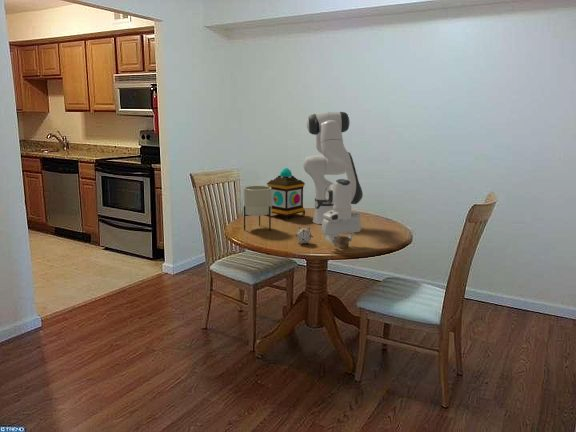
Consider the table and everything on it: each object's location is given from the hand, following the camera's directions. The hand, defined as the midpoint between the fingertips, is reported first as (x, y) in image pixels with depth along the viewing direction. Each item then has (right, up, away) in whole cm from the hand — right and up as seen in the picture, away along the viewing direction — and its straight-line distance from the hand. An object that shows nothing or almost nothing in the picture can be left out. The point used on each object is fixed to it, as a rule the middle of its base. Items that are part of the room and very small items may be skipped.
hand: (341, 242), depth 223 cm
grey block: (-3, 0, +12) cm, 13 cm away
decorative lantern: (-27, +12, +66) cm, 72 cm away
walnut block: (0, -2, +1) cm, 2 cm away
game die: (-18, -1, +6) cm, 19 cm away
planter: (-42, +5, +34) cm, 55 cm away
